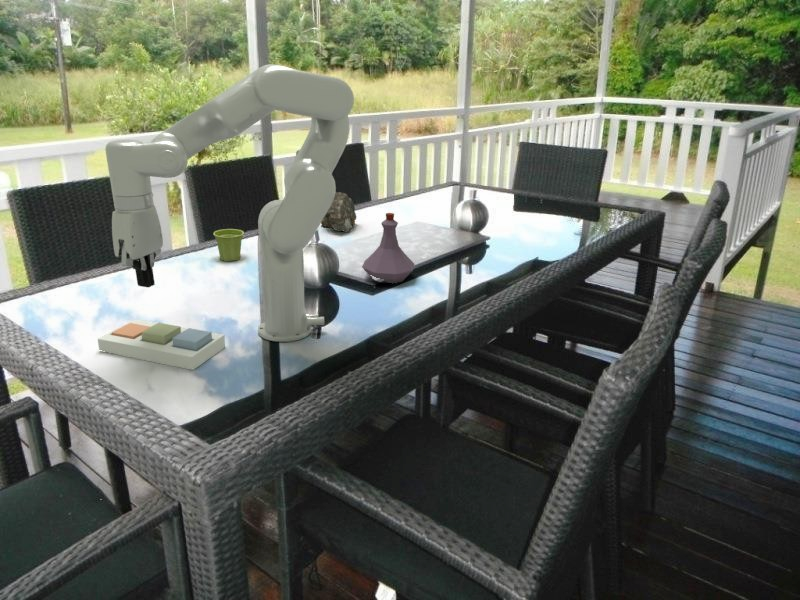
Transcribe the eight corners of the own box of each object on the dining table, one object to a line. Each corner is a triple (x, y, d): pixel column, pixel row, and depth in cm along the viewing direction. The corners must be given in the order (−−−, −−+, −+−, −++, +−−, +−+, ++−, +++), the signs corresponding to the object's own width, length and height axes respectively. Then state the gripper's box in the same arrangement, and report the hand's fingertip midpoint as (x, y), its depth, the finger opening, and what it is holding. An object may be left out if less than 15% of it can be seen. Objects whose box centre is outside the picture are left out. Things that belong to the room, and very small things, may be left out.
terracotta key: (152, 335, 144) (151, 326, 143) (134, 345, 138) (133, 336, 138) (131, 331, 145) (129, 322, 144) (113, 341, 140) (111, 332, 139)
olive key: (181, 335, 141) (180, 326, 140) (164, 345, 136) (163, 336, 135) (159, 331, 142) (158, 322, 142) (142, 341, 137) (141, 332, 137)
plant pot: (249, 255, 207) (247, 229, 203) (239, 264, 198) (238, 237, 195) (221, 253, 207) (219, 228, 204) (210, 262, 199) (208, 235, 195)
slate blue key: (212, 341, 139) (211, 332, 138) (196, 351, 133) (195, 342, 133) (189, 337, 140) (188, 328, 139) (173, 347, 135) (172, 338, 134)
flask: (350, 281, 186) (350, 215, 179) (377, 267, 200) (379, 205, 193) (399, 292, 179) (401, 223, 172) (424, 276, 193) (427, 212, 186)
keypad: (225, 347, 142) (224, 334, 141) (193, 370, 131) (191, 357, 130) (136, 330, 149) (135, 318, 148) (99, 351, 138) (97, 338, 137)
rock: (357, 188, 230) (321, 177, 235) (340, 221, 226) (304, 209, 231) (367, 213, 247) (334, 202, 252) (351, 244, 243) (318, 232, 248)
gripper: (144, 193, 137) (155, 272, 144) (91, 208, 124) (106, 295, 131) (172, 196, 135) (182, 276, 141) (122, 211, 121) (136, 299, 128)
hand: (146, 285), depth 136 cm, fingers closed
